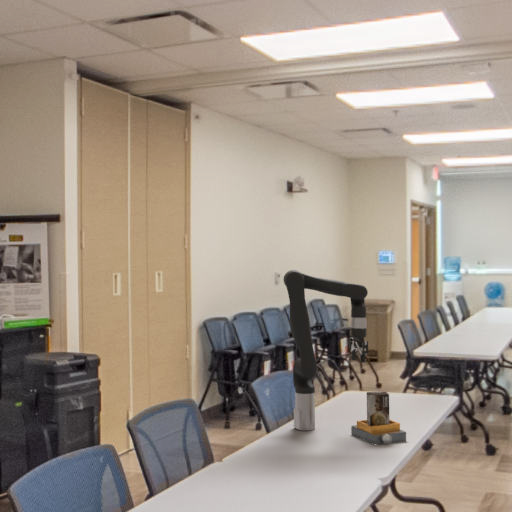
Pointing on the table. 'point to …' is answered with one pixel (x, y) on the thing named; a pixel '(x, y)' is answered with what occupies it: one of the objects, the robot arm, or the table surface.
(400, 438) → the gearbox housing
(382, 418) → the coffee box
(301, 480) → the table surface
